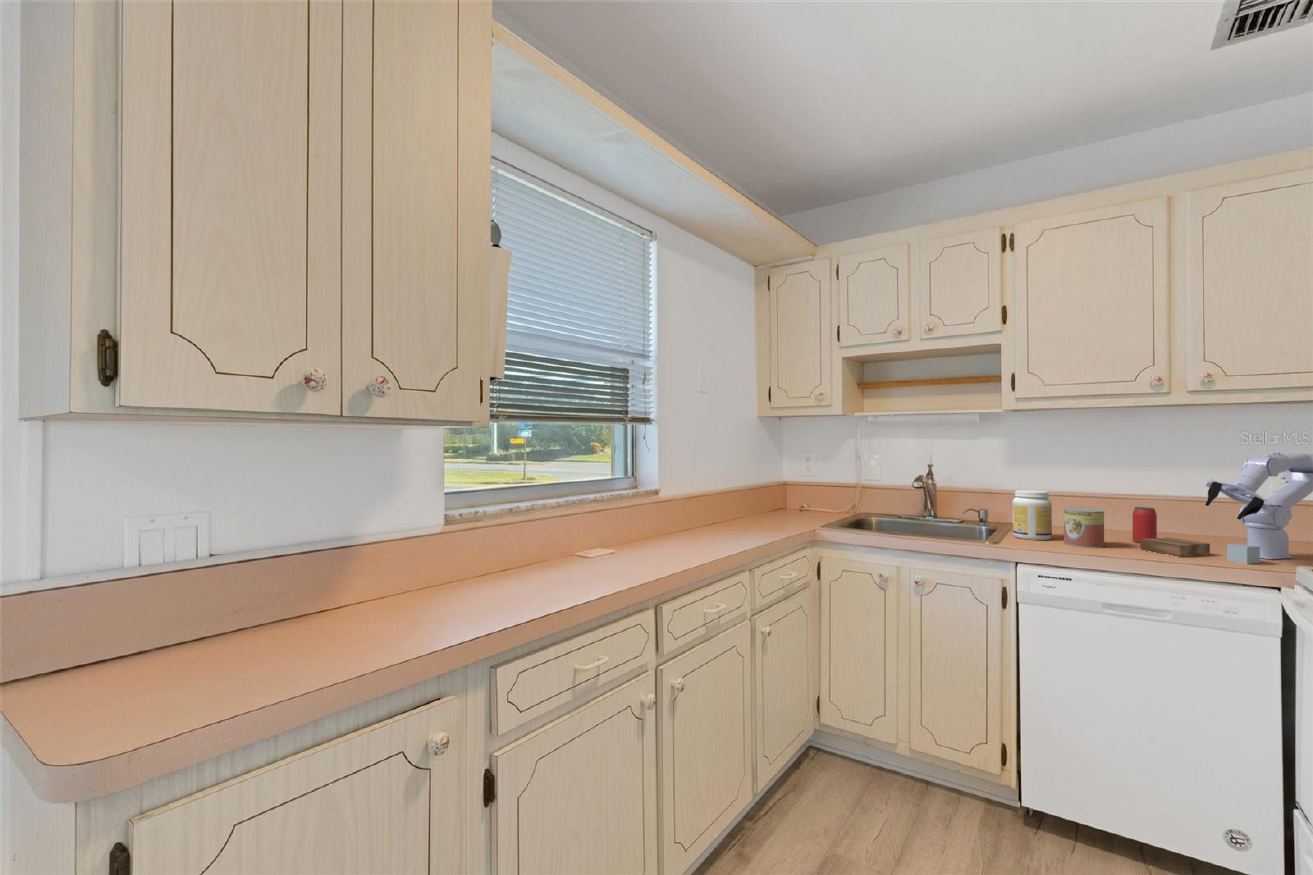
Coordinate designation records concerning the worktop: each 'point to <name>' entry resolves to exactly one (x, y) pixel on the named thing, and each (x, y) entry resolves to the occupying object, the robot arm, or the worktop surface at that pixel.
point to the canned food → (1084, 527)
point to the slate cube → (1243, 553)
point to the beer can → (1144, 523)
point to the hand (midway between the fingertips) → (1223, 510)
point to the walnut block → (1175, 547)
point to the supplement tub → (1032, 515)
